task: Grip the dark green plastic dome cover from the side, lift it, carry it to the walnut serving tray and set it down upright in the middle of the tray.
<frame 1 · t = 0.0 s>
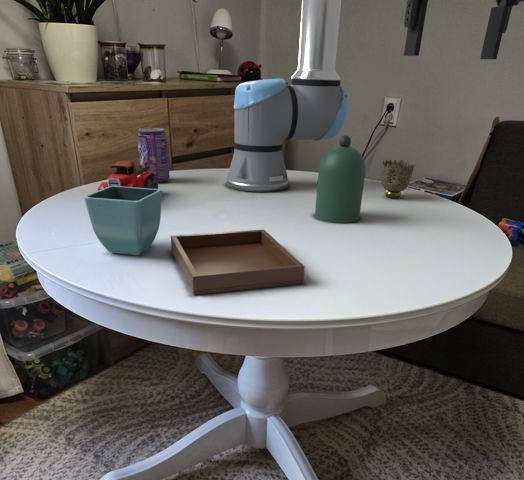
hand: (450, 57, 71), 28 cm above the table, tool pointing down, fingers open, 13 cm apart
tray: (233, 266, 73), on the table
toy truck: (130, 200, 105), on the table
olive flared piece: (392, 198, 115), on the table
beverage can: (155, 181, 123), on the table
flower pot: (130, 251, 78), on the table
dome cover: (336, 216, 99), on the table
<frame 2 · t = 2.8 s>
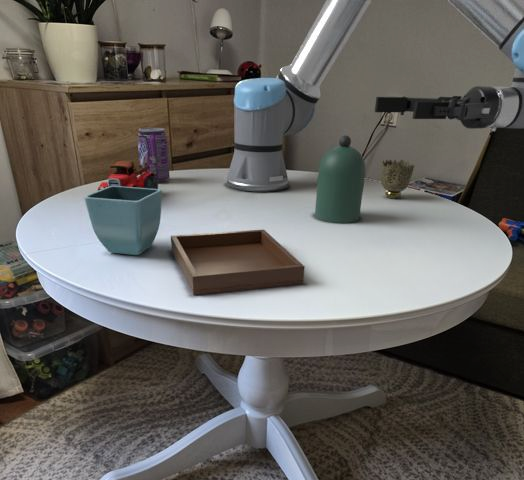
hand: (394, 107, 91), 20 cm above the table, tool horizontal, fingers open, 13 cm apart
nothing on the table moved.
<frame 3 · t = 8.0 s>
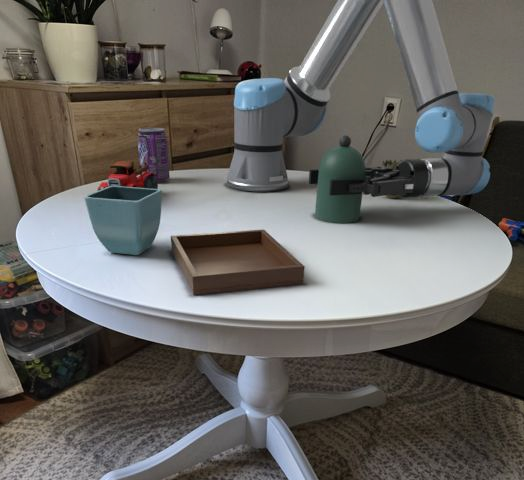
hand: (319, 182, 94), 7 cm above the table, tool horizontal, fingers closed on dome cover, 9 cm apart
dome cover: (336, 216, 99), on the table, touching gripper
everything else where it was.
when the fingers open (8 cm above the table, at t = 18.9 s): dome cover stays where it is, resting on tray.
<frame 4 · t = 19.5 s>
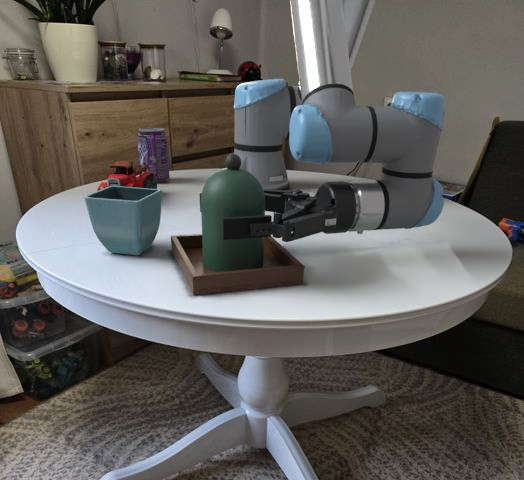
hand: (210, 214, 68), 8 cm above the table, tool horizontal, fingers open, 13 cm apart
dome cover: (233, 262, 72), point 1 cm above the table, touching tray
everything else where it was.
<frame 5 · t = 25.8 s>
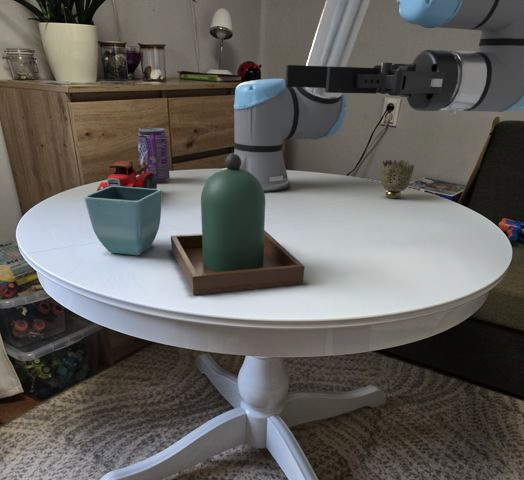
hand: (305, 77, 63), 25 cm above the table, tool horizontal, fingers open, 13 cm apart
nothing on the table moved.
at the end: dome cover inside the target area in the tray (0.0 cm from its centre), point 0.6 cm above the tray's base; dome cover tilted 0°; the gripper is holding nothing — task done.
